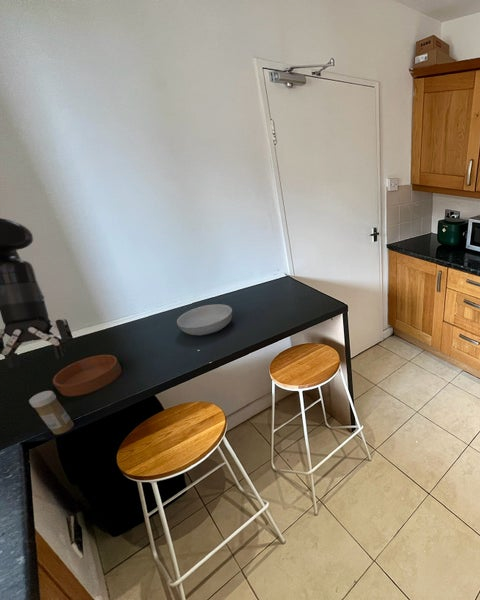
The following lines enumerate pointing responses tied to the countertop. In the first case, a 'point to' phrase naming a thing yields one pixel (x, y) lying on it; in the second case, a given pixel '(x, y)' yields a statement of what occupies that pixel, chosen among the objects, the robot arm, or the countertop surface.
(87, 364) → the pan
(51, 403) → the sprinkles bottle
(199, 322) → the serving bowl
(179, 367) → the countertop surface
